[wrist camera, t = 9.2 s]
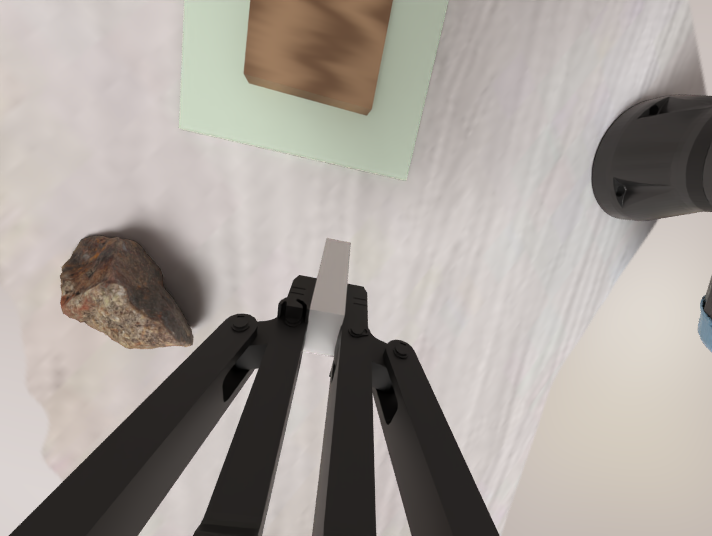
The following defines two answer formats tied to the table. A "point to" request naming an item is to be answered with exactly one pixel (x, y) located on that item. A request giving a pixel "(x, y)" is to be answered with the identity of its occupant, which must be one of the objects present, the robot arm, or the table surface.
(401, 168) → the mat
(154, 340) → the rock
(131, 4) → the table surface
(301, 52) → the board
